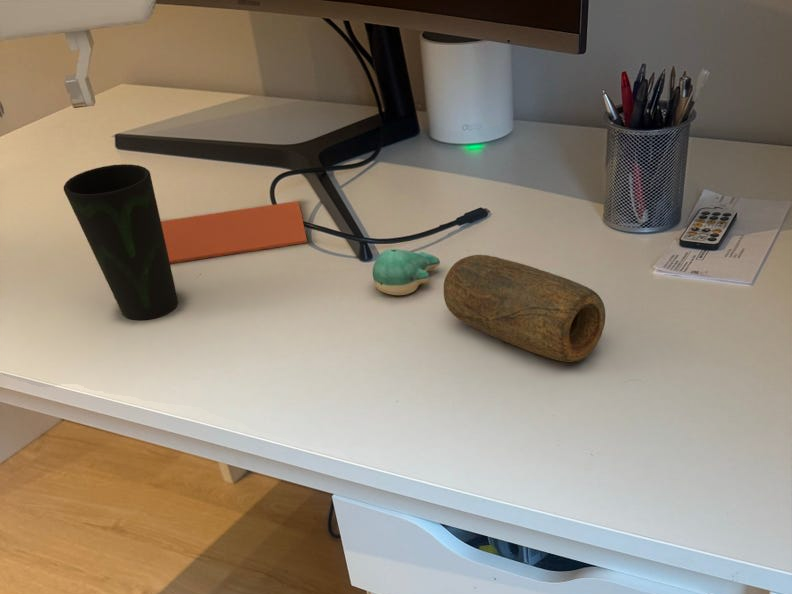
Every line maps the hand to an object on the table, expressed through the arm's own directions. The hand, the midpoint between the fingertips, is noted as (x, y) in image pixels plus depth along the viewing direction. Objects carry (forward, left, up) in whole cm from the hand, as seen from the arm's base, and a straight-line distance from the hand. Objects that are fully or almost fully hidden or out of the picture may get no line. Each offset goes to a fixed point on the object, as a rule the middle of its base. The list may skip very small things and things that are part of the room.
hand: (39, 111), depth 65 cm
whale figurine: (+26, +10, -21) cm, 35 cm away
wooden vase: (+34, -5, -21) cm, 40 cm away
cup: (+1, +14, -21) cm, 25 cm away
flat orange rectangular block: (+7, +30, -21) cm, 37 cm away
